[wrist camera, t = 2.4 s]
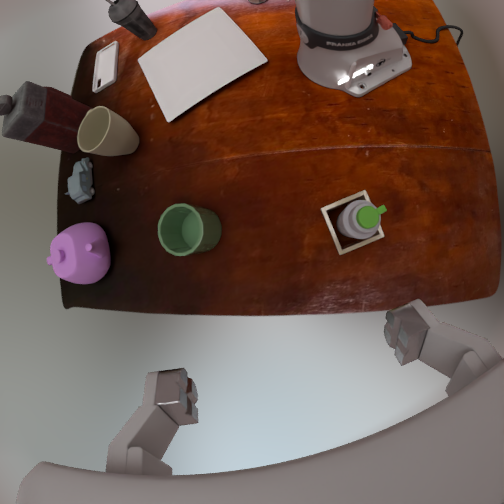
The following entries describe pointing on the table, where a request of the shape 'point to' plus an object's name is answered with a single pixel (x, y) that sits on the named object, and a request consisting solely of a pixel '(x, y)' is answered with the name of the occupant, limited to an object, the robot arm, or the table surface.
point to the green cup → (188, 229)
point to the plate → (198, 61)
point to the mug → (106, 133)
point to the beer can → (256, 1)
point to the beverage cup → (131, 18)
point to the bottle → (360, 219)
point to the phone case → (106, 67)
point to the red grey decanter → (43, 117)
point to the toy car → (81, 182)
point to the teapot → (80, 253)
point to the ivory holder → (340, 250)
